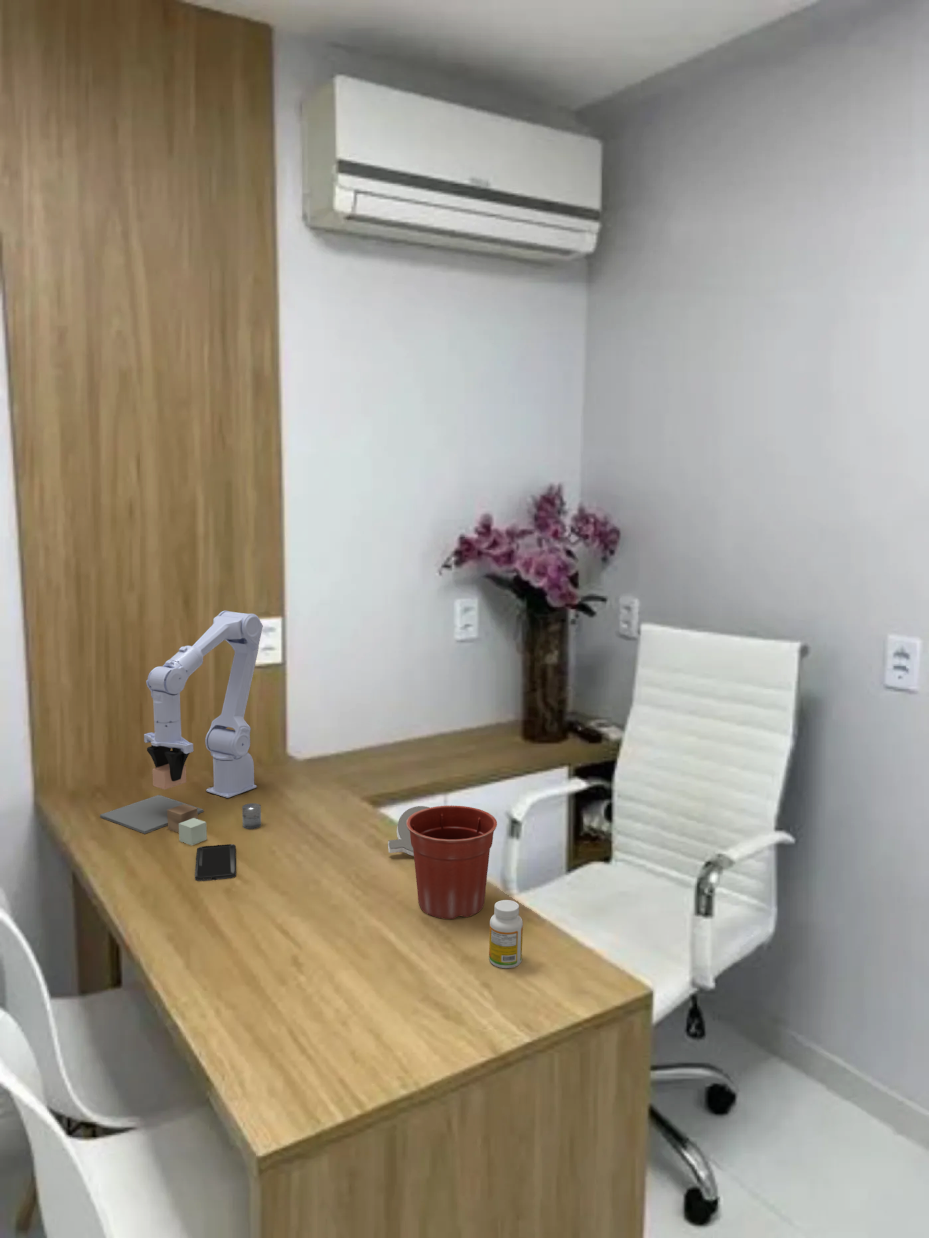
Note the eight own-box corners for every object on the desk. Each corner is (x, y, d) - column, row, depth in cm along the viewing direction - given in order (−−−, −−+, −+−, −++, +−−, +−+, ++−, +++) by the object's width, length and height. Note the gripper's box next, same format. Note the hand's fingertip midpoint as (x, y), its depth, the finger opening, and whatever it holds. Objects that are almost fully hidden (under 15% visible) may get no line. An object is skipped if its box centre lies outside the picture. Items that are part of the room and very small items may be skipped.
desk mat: (159, 797, 224) (158, 794, 224) (203, 811, 216) (203, 809, 215) (100, 817, 211) (99, 814, 211) (144, 833, 203) (144, 831, 202)
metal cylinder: (252, 821, 211) (251, 801, 210) (264, 825, 209) (264, 805, 208) (238, 826, 207) (238, 807, 207) (251, 830, 205) (250, 811, 205)
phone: (235, 843, 196) (236, 874, 182) (235, 848, 197) (236, 879, 182) (196, 846, 194) (193, 877, 180) (196, 852, 195) (194, 883, 180)
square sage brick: (194, 835, 202) (193, 817, 202) (206, 839, 200) (206, 822, 200) (179, 841, 199) (178, 823, 198) (191, 845, 197) (191, 827, 196)
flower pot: (416, 931, 163) (417, 843, 160) (397, 889, 178) (398, 809, 175) (506, 920, 167) (508, 835, 164) (480, 880, 183) (482, 802, 180)
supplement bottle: (502, 948, 157) (503, 894, 155) (528, 959, 154) (529, 904, 152) (482, 961, 153) (483, 906, 151) (508, 973, 150) (510, 916, 148)
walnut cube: (184, 823, 209) (183, 804, 208) (198, 827, 207) (197, 808, 206) (168, 829, 205) (167, 810, 205) (181, 834, 203) (180, 814, 202)
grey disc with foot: (391, 860, 189) (386, 804, 193) (385, 865, 197) (381, 812, 201) (463, 853, 193) (457, 799, 197) (455, 859, 200) (449, 806, 204)
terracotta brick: (174, 778, 215) (174, 762, 215) (186, 782, 213) (185, 765, 213) (153, 785, 210) (152, 768, 210) (164, 789, 208) (164, 772, 208)
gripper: (131, 718, 210) (134, 776, 212) (174, 729, 202) (176, 789, 204) (157, 711, 216) (159, 768, 218) (200, 722, 208) (201, 780, 210)
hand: (169, 777), depth 212 cm, fingers closed on terracotta brick, 4 cm apart
